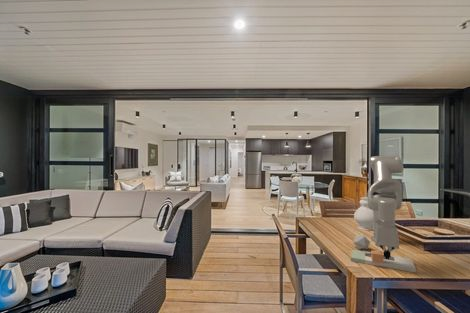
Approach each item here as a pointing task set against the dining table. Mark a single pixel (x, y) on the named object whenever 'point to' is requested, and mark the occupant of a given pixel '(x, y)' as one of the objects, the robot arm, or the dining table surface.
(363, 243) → the die
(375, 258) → the block
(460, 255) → the dining table surface
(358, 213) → the decorative vase
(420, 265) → the dining table surface
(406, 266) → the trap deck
